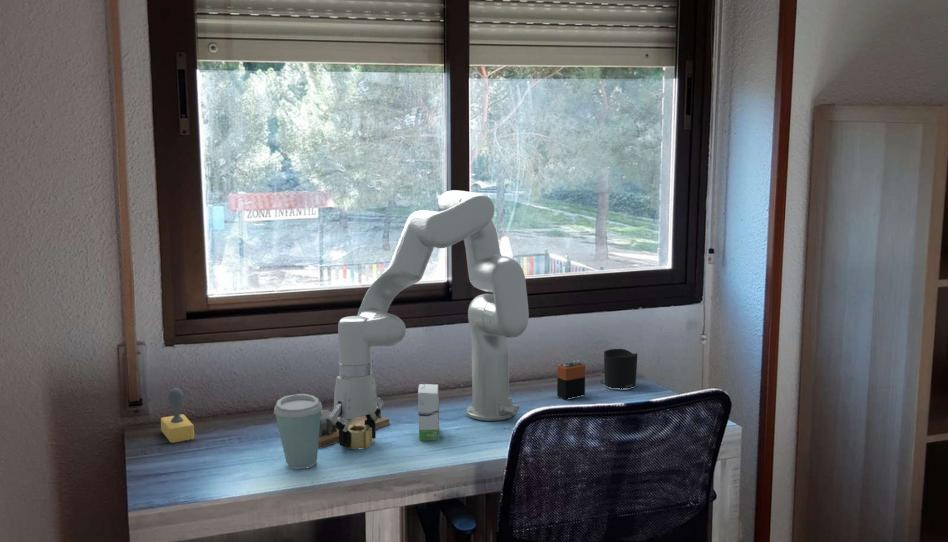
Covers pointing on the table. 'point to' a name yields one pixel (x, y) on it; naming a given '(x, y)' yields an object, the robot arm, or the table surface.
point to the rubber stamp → (177, 420)
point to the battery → (571, 379)
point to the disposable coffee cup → (299, 428)
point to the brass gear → (360, 436)
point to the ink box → (428, 412)
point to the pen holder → (620, 368)
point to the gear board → (331, 434)
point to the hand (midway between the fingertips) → (357, 441)
